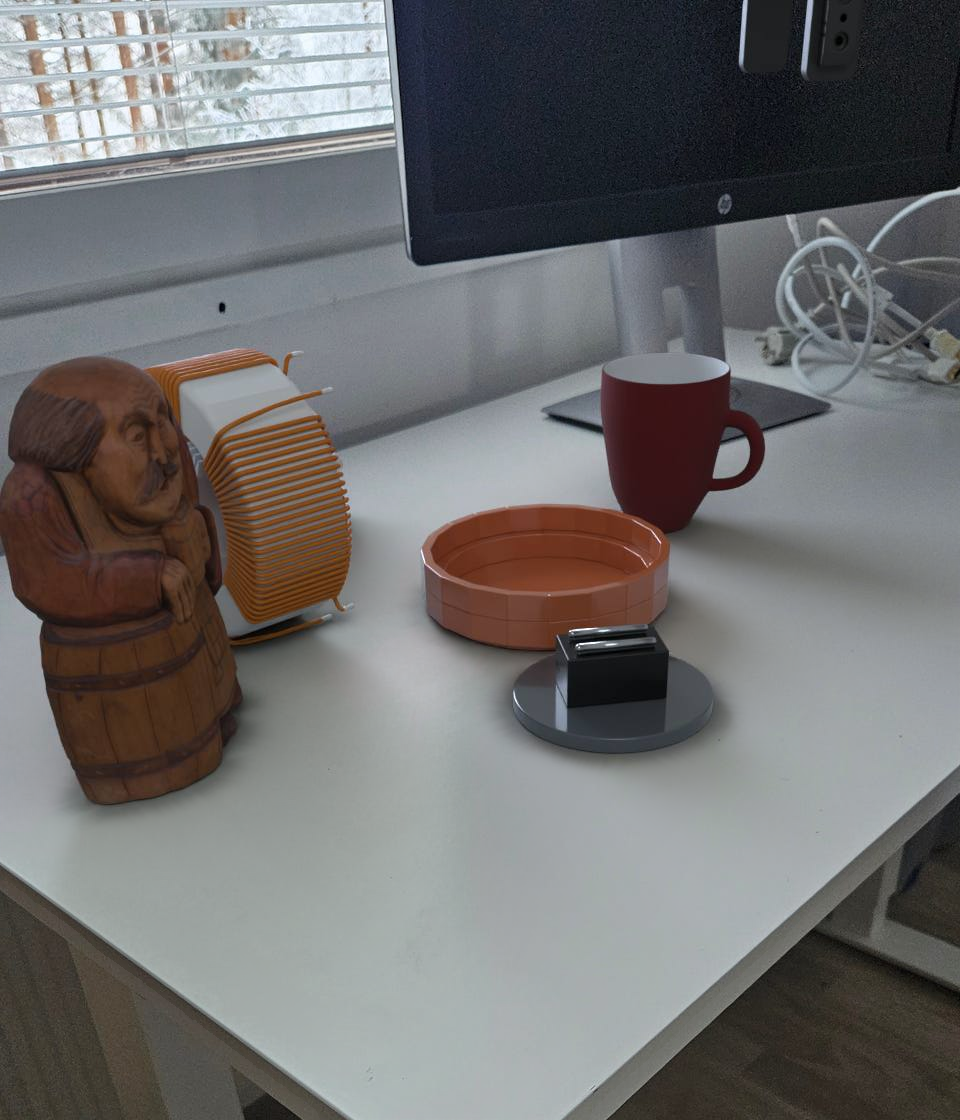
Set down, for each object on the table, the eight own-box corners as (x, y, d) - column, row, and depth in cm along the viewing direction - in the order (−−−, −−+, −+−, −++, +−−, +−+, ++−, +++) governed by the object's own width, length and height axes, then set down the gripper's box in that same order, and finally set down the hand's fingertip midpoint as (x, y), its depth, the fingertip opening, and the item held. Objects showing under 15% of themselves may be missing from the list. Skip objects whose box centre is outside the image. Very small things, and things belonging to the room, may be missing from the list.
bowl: (633, 549, 79) (636, 495, 77) (696, 642, 68) (700, 582, 66) (413, 568, 78) (410, 513, 76) (439, 666, 66) (435, 606, 64)
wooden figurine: (194, 815, 55) (111, 399, 45) (57, 810, 56) (-55, 399, 45) (264, 692, 64) (209, 326, 54) (147, 689, 65) (71, 327, 55)
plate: (681, 651, 67) (682, 638, 66) (738, 742, 59) (740, 727, 58) (498, 669, 66) (498, 655, 65) (531, 763, 58) (531, 748, 57)
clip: (651, 671, 63) (654, 616, 61) (666, 699, 61) (670, 642, 59) (555, 681, 63) (555, 625, 61) (567, 708, 60) (567, 651, 59)
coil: (274, 683, 65) (233, 393, 57) (140, 601, 75) (88, 342, 66) (379, 643, 69) (355, 365, 60) (238, 570, 78) (201, 321, 70)
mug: (754, 504, 85) (768, 352, 80) (759, 547, 79) (776, 384, 73) (601, 501, 87) (604, 352, 81) (594, 543, 80) (597, 384, 74)
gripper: (1024, -483, 42) (939, 81, 51) (859, -378, 53) (815, 66, 63) (811, -482, 41) (764, 90, 50) (691, -376, 53) (671, 73, 62)
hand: (792, 76), depth 56 cm, fingers open, 8 cm apart
